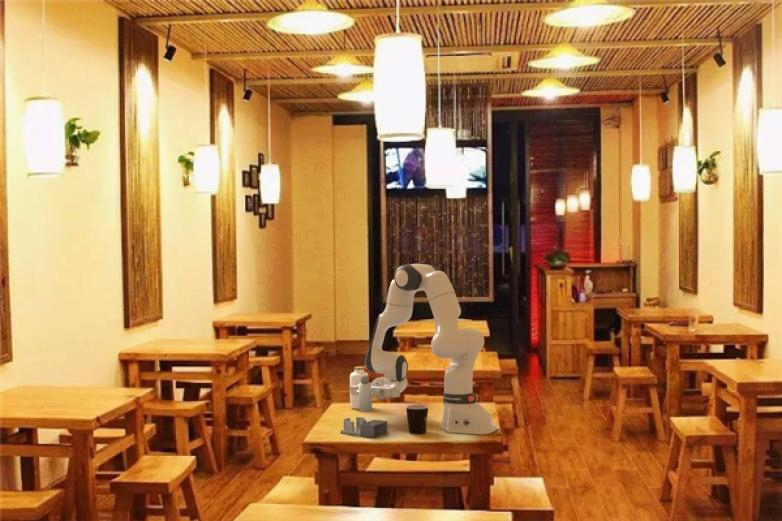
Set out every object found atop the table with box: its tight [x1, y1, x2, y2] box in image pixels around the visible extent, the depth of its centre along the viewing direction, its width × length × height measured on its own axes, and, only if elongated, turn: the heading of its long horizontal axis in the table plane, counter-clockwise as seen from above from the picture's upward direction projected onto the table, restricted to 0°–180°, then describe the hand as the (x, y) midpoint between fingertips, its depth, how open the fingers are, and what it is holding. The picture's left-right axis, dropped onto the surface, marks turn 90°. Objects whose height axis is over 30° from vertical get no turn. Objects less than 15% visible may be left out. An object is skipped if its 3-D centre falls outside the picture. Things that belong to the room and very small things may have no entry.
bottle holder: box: [340, 416, 388, 439], centre depth 339 cm, size 16×10×5 cm, turn 60°
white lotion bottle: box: [358, 374, 373, 413], centre depth 351 cm, size 5×5×14 cm
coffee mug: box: [405, 404, 429, 435], centre depth 338 cm, size 12×9×10 cm
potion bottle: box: [349, 366, 370, 410], centre depth 388 cm, size 8×8×18 cm
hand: (364, 393), depth 350 cm, fingers closed on white lotion bottle, 5 cm apart
